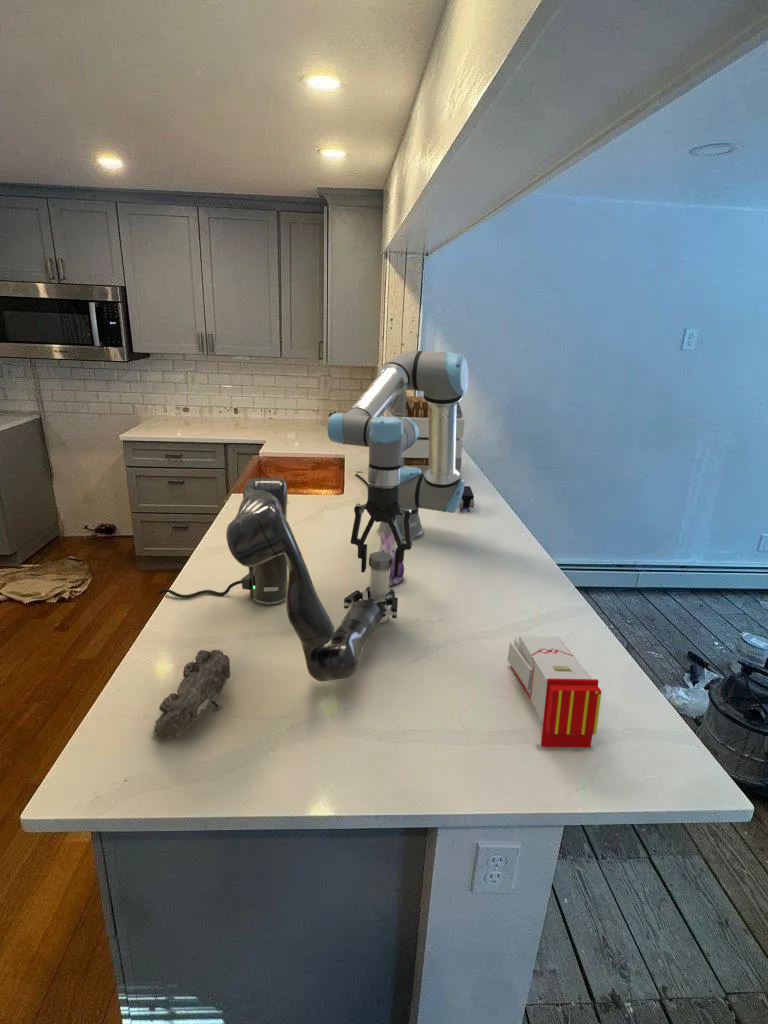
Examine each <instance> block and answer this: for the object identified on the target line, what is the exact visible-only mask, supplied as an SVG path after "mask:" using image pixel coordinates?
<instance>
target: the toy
mask: <svg viewBox="0 0 768 1024" xmlns="http://www.w3.org/2000/svg"><path fill="white" fill-rule="evenodd" d="M507 662H508V663H509V665H510V669H511V671H512V672H513V674H514V675H515V677H516V678H517V680H518V681H519V683H520V684H521V686H522V688H523V690H524V692H525V693H526V695H527V696H528V698H529V699H530V702H531V703H532V706H533V707H534V709H535V711H536V713H537V715H538V716H539V718H540V721H541V722H542V729H541V739H540V746H541V748H591V747H592V738H593V736H597V730H598V722H599V713H600V707H601V698H602V690H601V688H600V687H599V683H600V681H599V679H597V678H596V679H595V678H592V676H590V674H589V673H588V672H587V671H586V669H585V668H584V667H583V666H582V664H581V663H580V662H579V660H578V659H577V658H576V657H575V655H574V654H573V653H572V651H571V650H570V649H569V648H568V646H567V645H566V644H565V642H564V641H563V640H562V639H561V637H560V636H527V635H526V636H523V635H522V636H521V635H519V637H514V640H513V641H511V642H509V647H508V652H507Z"/></svg>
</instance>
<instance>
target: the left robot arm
mask: <svg viewBox="0 0 768 1024" xmlns="http://www.w3.org/2000/svg"><path fill="white" fill-rule="evenodd" d="M287 511H288V486H287V482H286V480H285V479H284V478H282V477H257V478H256V477H253V478H250V479H248V480H247V481H246V482H245V484H244V487H243V493H242V501H241V503H240V505H239V509H238V510H237V514H236V516H235V517H234V518H233V519H232V521H230V522H229V523H228V525H227V528H226V536H225V537H226V543H227V547H228V549H229V552H230V554H231V555H232V558H234V560H235V561H236V562H238V563H239V564H240V565H241V566H243V567H246V568H248V573H247V574H245V575H244V576H243V577H242V578H241V579H240V580H236V581H234V582H232V583H230V584H229V585H228V586H227V588H226V589H225V590H224V591H222V592H219V591H216V590H212V589H203V590H199V591H196V592H193V593H189V594H181V593H178V592H176V591H174V590H173V589H169V588H163V589H161V590H160V591H158V592H157V594H158V595H162V594H164V593H168V592H169V593H168V594H169V595H172V596H175V597H177V598H180V599H189V598H194V597H197V596H200V595H203V594H212V595H215V596H219V597H222V596H225V595H227V594H228V593H230V590H231V589H232V588H233V587H235V586H237V585H241V589H243V590H247V591H249V598H250V599H251V600H253V601H254V602H255V603H257V604H260V605H264V606H265V605H266V606H267V605H269V606H271V605H278V604H282V603H284V602H285V612H286V613H285V614H286V615H287V619H288V621H289V623H290V625H291V627H292V628H293V630H294V632H295V633H296V636H297V637H298V639H299V641H300V644H301V646H302V647H301V648H302V651H303V655H304V659H305V665H306V670H307V672H308V674H309V675H310V677H311V678H313V680H315V681H317V682H321V683H325V682H330V681H331V682H332V681H339V680H345V679H349V678H352V677H353V676H355V675H356V674H357V673H358V671H359V669H360V665H361V656H362V650H363V648H364V646H365V645H366V643H367V642H368V641H370V638H371V637H372V635H373V634H374V633H375V632H376V630H377V627H378V626H379V625H380V624H381V623H380V621H381V619H382V618H383V617H385V616H386V615H387V616H391V618H392V619H397V617H398V607H399V605H398V604H399V598H398V597H397V596H396V591H395V590H394V588H389V592H388V594H387V596H385V597H381V598H379V599H378V600H374V599H371V598H370V586H367V587H366V588H365V589H364V590H362V591H360V590H359V589H356V590H355V591H353V592H351V593H350V594H348V595H347V596H346V597H344V598H343V609H345V610H347V609H348V611H347V612H346V614H345V615H344V617H343V618H342V620H341V621H340V623H339V624H338V626H337V628H336V629H335V627H334V624H333V622H332V620H331V618H330V616H329V614H328V613H327V611H326V609H325V607H324V605H323V604H322V602H321V600H320V599H321V598H320V597H319V596H318V593H317V590H316V589H315V586H314V583H313V581H312V578H311V575H310V572H309V569H308V566H307V564H306V561H305V558H304V557H303V554H302V552H301V550H300V546H299V544H298V541H297V539H296V536H295V534H294V532H293V529H292V527H291V526H290V524H289V522H288V520H287V519H288V518H287V515H288V512H287ZM387 607H388V609H387ZM329 642H330V644H328V643H329ZM326 644H328V645H326Z"/></svg>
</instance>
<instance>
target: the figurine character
mask: <svg viewBox="0 0 768 1024" xmlns="http://www.w3.org/2000/svg"><path fill="white" fill-rule="evenodd" d="M474 498H475V496H474V492H473V489H472V488H471V486H469V485H465V486H464V491H463V495H462V499H461V502H460V505H459V507H458V509H460V512H461V513H462V512H464V511H463V510H467V512H468V513H470V511H471V510H470V509H474V508H475V499H474Z"/></svg>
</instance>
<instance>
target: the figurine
mask: <svg viewBox="0 0 768 1024" xmlns="http://www.w3.org/2000/svg"><path fill="white" fill-rule="evenodd" d="M396 549H397V546H396V544H395V539H394V536H393V533H391V534H390V536H389V537H388V538H387V536H386V535H385V533H384V532H383V531H382V532H381V534H380V545H379V548H378V550H377V552H386V553H389V554H391V555H392V566H391V568H390V575H389V587H390V586H393V585H398V584H399V583H401V582H402V581H403V577H404V572H405V565H404V561H403V562H402V563H399V572H398V575H397V576H394V570H395V552H396Z"/></svg>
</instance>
